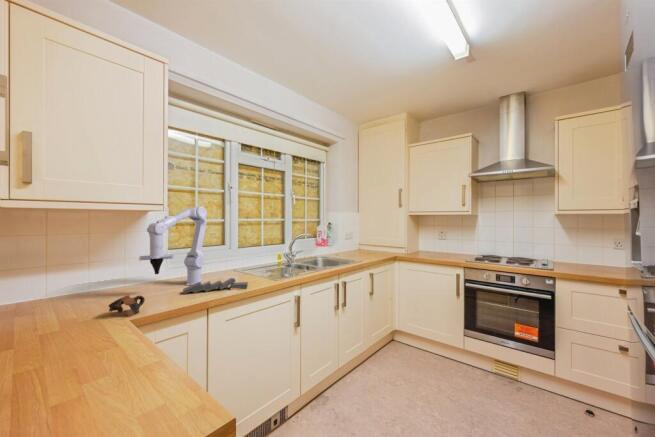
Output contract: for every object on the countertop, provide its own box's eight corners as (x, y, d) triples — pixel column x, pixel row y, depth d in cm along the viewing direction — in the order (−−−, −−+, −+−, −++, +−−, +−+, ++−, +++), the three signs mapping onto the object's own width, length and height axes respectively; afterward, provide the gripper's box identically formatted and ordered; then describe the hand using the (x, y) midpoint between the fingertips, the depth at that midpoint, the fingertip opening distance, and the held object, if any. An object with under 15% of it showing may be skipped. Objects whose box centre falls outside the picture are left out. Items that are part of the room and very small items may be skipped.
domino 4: (216, 285, 149) (231, 277, 154) (218, 288, 149) (232, 280, 154) (219, 286, 145) (234, 278, 150) (221, 289, 145) (235, 281, 150)
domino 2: (193, 288, 144) (209, 281, 147) (194, 291, 144) (210, 283, 148) (192, 290, 140) (209, 283, 143) (194, 293, 140) (211, 286, 143)
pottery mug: (121, 321, 105) (110, 302, 105) (113, 327, 110) (102, 309, 110) (152, 304, 115) (142, 287, 115) (143, 310, 120) (133, 294, 120)
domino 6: (229, 286, 151) (245, 284, 154) (229, 289, 151) (245, 287, 154) (230, 288, 146) (247, 286, 150) (230, 291, 146) (247, 290, 150)
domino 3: (203, 287, 146) (220, 280, 150) (204, 290, 146) (221, 283, 150) (204, 289, 142) (221, 282, 146) (205, 292, 142) (222, 285, 146)
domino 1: (183, 288, 142) (200, 281, 146) (184, 291, 143) (201, 284, 146) (182, 291, 138) (200, 283, 141) (184, 294, 138) (201, 286, 141)
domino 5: (231, 282, 152) (247, 282, 153) (231, 285, 152) (247, 285, 153) (230, 285, 147) (247, 284, 148) (230, 288, 147) (247, 287, 148)
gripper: (137, 248, 134) (137, 276, 134) (171, 246, 139) (172, 274, 139) (141, 246, 140) (141, 273, 140) (173, 245, 146) (174, 271, 146)
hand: (157, 273), depth 140 cm, fingers closed
